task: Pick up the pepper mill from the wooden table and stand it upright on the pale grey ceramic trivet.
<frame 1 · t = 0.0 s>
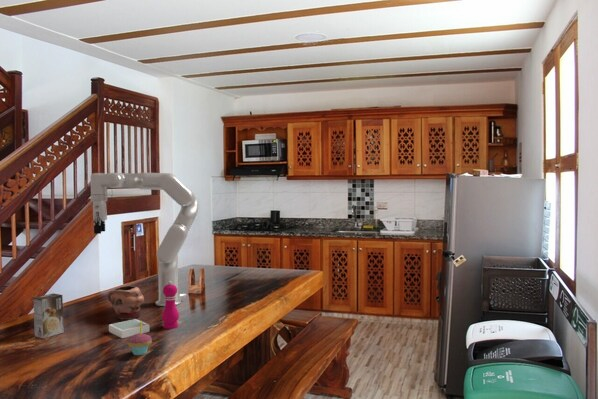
hand: (99, 232, 249), 37 cm above the table, tool pointing down, fingers open, 9 cm apart
coffee box: (49, 335, 207), on the table
pepper mill: (170, 327, 217), on the table
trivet: (129, 331, 210), on the table
cupcake: (140, 353, 185), on the table
decorative planter: (125, 317, 232), on the table
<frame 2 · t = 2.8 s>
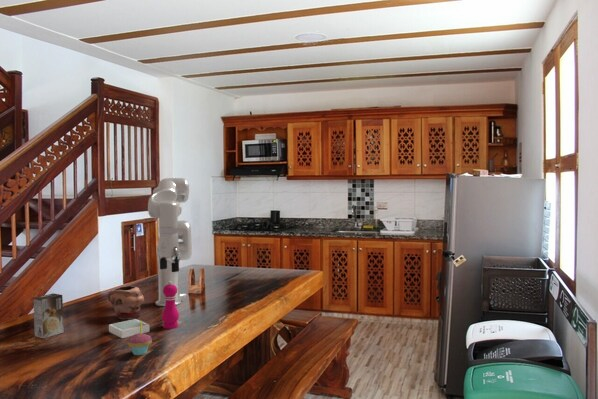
hand: (169, 270, 216), 25 cm above the table, tool pointing down, fingers open, 9 cm apart
nothing on the table moved.
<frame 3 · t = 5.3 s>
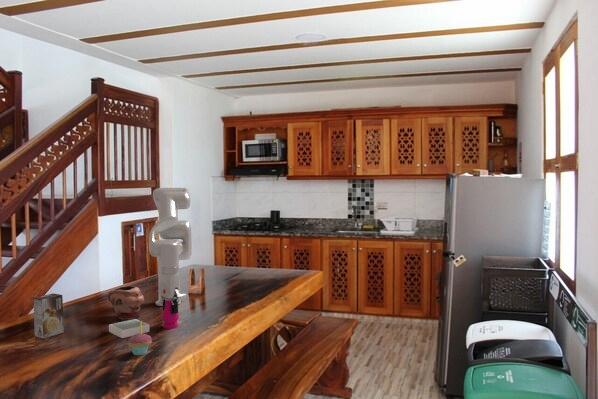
hand: (170, 311, 217), 7 cm above the table, tool pointing down, fingers closed on pepper mill, 5 cm apart
pepper mill: (170, 327, 217), on the table, touching gripper
everything else where it was.
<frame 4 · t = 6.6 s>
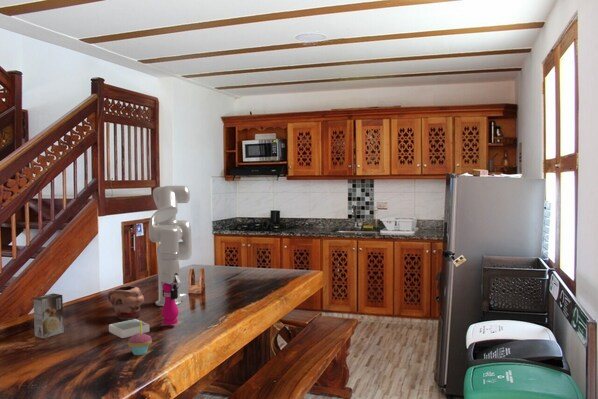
hand: (170, 297, 217), 13 cm above the table, tool pointing down, fingers closed on pepper mill, 5 cm apart
pepper mill: (170, 323, 217), point 1 cm above the table, touching gripper
everything else where it was.
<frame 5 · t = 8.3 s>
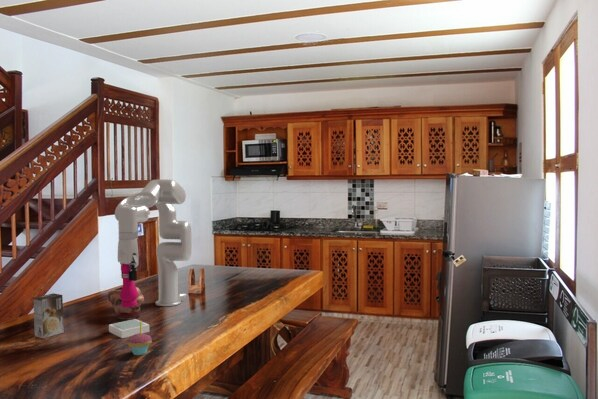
hand: (129, 278, 209), 22 cm above the table, tool pointing down, fingers closed on pepper mill, 5 cm apart
pepper mill: (129, 306, 209), point 11 cm above the table, touching gripper
everything else where it was.
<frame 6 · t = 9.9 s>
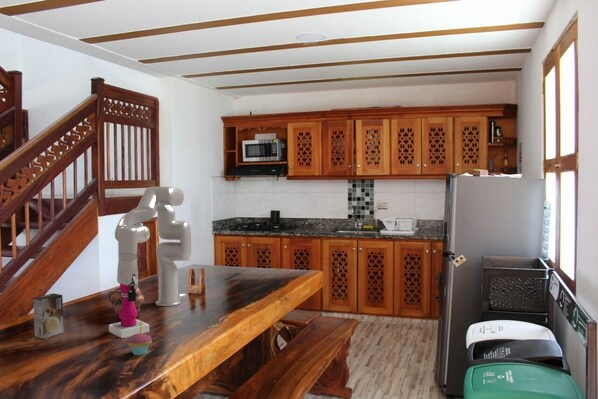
hand: (128, 299, 209), 14 cm above the table, tool pointing down, fingers open, 5 cm apart
pepper mill: (128, 325, 209), point 3 cm above the table, touching gripper, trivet
everything else where it was.
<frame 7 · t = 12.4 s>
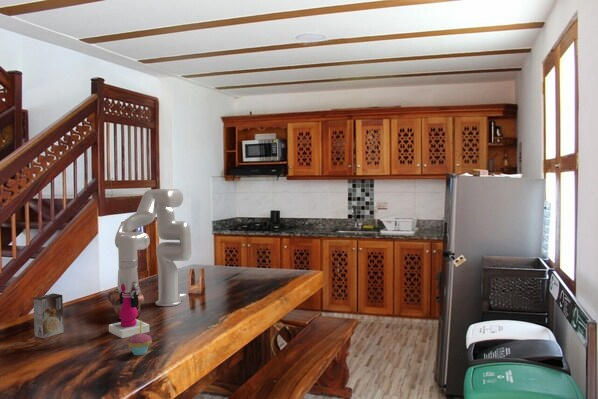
hand: (128, 304, 210), 11 cm above the table, tool pointing down, fingers open, 9 cm apart
pepper mill: (128, 325, 209), point 3 cm above the table, touching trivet
everything else where it was.
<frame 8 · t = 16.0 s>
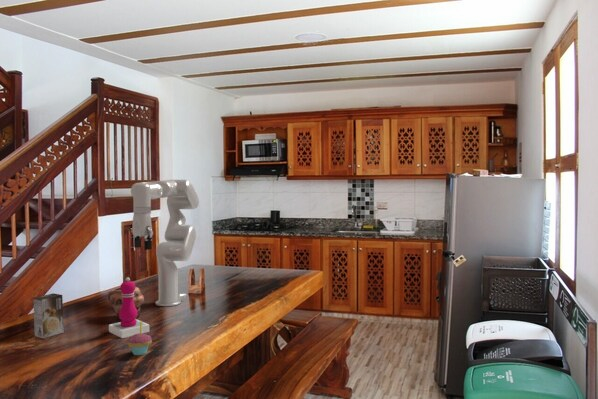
hand: (142, 248, 228), 32 cm above the table, tool pointing down, fingers open, 9 cm apart
nothing on the table moved.
at the end: pepper mill 1.0 cm from the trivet (horizontally); pepper mill touching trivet; pepper mill tilted 0° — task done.
